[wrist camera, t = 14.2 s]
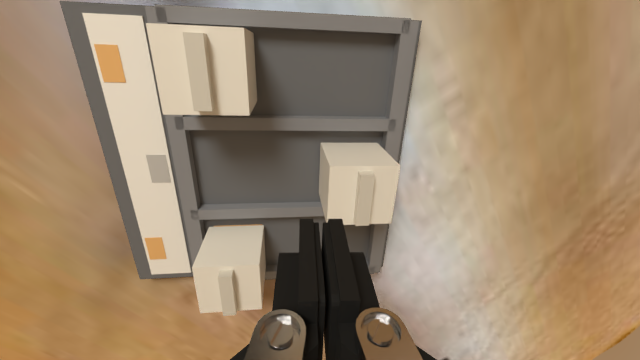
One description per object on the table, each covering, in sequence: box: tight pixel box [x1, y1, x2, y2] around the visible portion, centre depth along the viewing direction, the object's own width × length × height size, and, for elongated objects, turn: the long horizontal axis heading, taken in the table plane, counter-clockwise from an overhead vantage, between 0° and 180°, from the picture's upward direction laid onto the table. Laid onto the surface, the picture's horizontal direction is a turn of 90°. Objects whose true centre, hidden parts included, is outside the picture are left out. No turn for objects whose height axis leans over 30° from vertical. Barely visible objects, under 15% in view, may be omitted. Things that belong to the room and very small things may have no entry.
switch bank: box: [60, 1, 422, 280], centre depth 20 cm, size 20×19×2 cm
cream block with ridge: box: [319, 143, 400, 226], centre depth 18 cm, size 4×4×5 cm
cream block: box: [192, 225, 266, 316], centre depth 20 cm, size 4×4×5 cm
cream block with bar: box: [146, 23, 257, 116], centre depth 15 cm, size 4×4×5 cm
